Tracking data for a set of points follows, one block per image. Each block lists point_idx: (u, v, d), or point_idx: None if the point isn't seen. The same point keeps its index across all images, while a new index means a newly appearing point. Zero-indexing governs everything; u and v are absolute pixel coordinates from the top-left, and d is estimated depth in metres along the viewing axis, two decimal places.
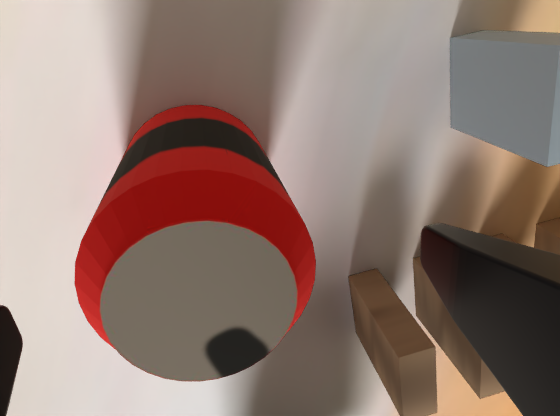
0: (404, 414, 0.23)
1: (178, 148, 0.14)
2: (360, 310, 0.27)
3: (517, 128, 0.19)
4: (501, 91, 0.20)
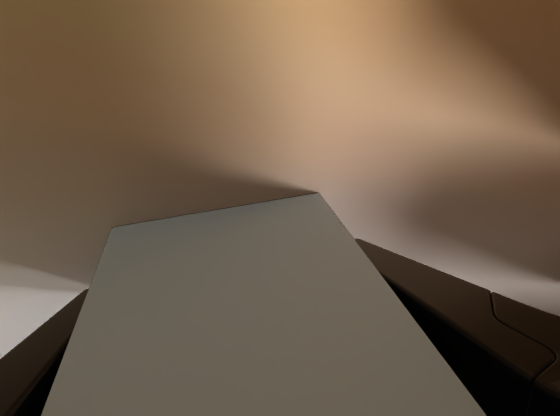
0: None
1: None
2: None
3: None
4: None
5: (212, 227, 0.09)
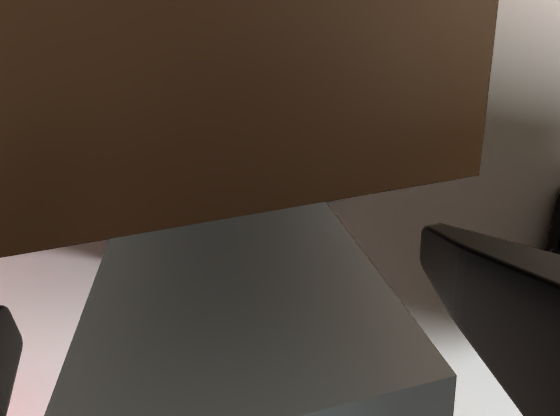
0: (411, 178, 0.04)
1: None
2: None
3: None
4: None
5: None
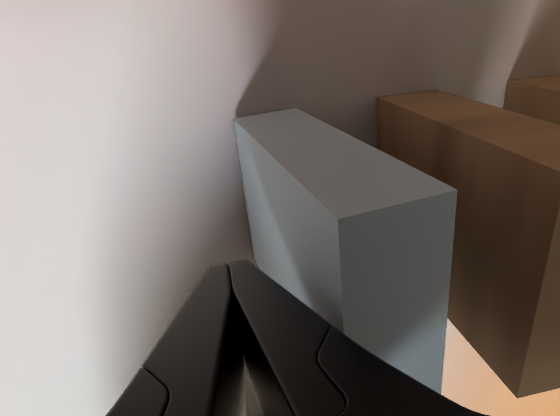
0: (525, 373, 0.08)
1: None
2: (401, 157, 0.12)
3: None
4: (284, 249, 0.10)
5: None
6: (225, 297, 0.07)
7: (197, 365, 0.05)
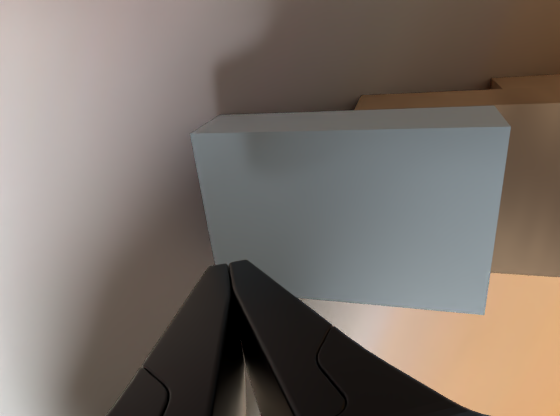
0: None
1: None
2: None
3: (408, 269, 0.11)
4: (359, 215, 0.11)
5: None
6: (225, 297, 0.07)
7: (197, 365, 0.05)
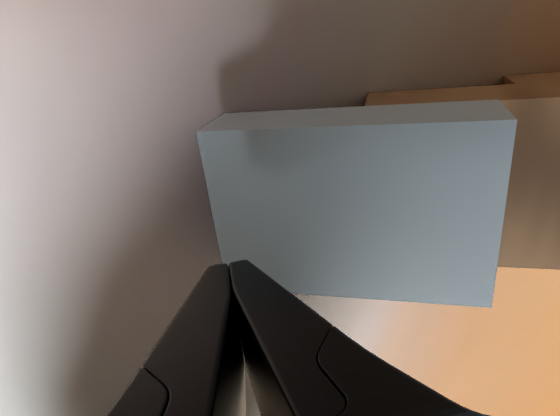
0: None
1: None
2: None
3: (415, 264, 0.11)
4: (366, 210, 0.11)
5: None
6: (225, 297, 0.07)
7: (197, 365, 0.05)
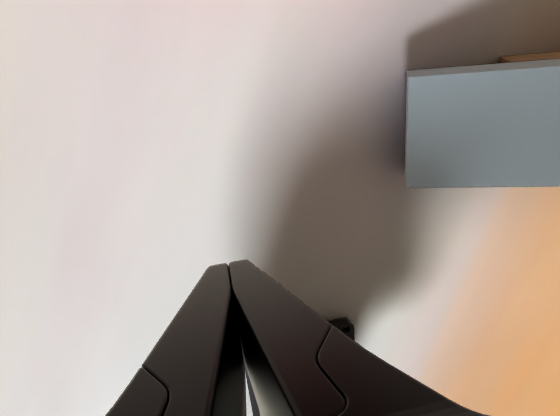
0: None
1: None
2: None
3: (544, 159, 0.18)
4: (516, 125, 0.17)
5: None
6: (225, 297, 0.07)
7: (197, 365, 0.05)
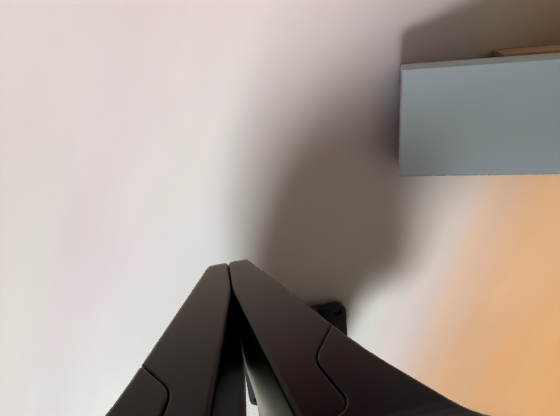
0: None
1: None
2: None
3: (529, 148, 0.19)
4: (503, 115, 0.18)
5: None
6: (225, 297, 0.07)
7: (197, 365, 0.05)
